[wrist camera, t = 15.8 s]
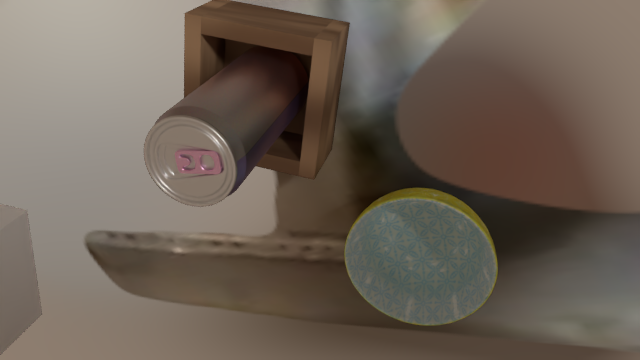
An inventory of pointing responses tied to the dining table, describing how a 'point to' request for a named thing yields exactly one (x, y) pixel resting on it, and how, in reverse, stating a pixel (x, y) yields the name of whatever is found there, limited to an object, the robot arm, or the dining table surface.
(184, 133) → the beverage can
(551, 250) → the dining table surface
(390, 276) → the bowl
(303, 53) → the wooden box
